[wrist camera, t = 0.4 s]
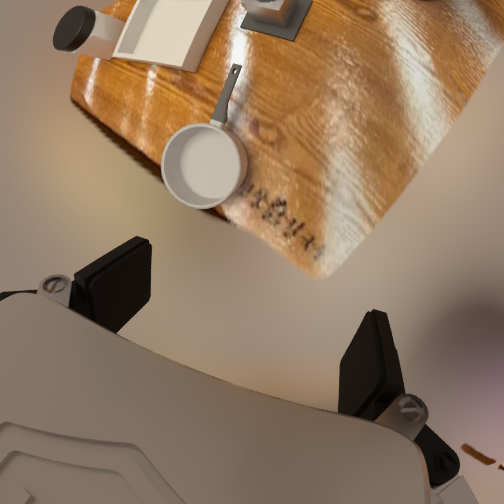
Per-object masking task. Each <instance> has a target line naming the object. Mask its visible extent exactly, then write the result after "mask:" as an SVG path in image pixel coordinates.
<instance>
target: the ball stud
mask: <svg viewBox="0 0 504 504" xmlns="http://www.w3.org/2000/svg"><path fill="white" fill-rule="evenodd" d="M298 4H299V5H298V7H297V9H296V11H295V13H294V15H293V17H292V19H291V21H290V23H289V25H288V27H287V29H284V28H280V27H277V26H273V25H269V24H265V23H261V22H256V21H253V20H252V18H251V17H250V15H249V14H248V12H247V14H246V16H245V18H244V20H243V22H242V24H241V26H240V27H241V28H243V29H248V30H252V31H256V32H260V33H264V34H268V35H272V36H275V37H279V38H282V39H286V40H289V41H292V42H294V39H295V37H296V35H297V33H298V31H299V29H300V27H301V25H302V22H303V20H304V18H305V16H306V14H307V12H308V10H309V8H310V6H311V4H312V0H298Z"/></svg>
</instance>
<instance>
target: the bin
mask: <svg viewBox="0 0 504 504" xmlns="http://www.w3.org/2000/svg"><path fill="white" fill-rule="evenodd" d="M228 2H229V0H137V2H136V4H135V6H134V8H133V10H132V12H131V14H130V16H129V18H128V20H127V22H126V24H125V27H124V29H123V31H122V33H121V36H120V38H119V41H118V43H117V46H116V48H115V51H114V53H113V56H112V57H116V58H120V59H123V60H127V61H133V62H140V63H147V64H153V65H159V66H164V67H170V68H175V69H180V70H184V71H189V72H193V73H196V70H197V68H198V66H199V63H200V61H201V58H202V56H203V54H204V51H205V49H206V47H207V45H208V43H209V40H210V38H211V36H212V34H213V32H214V30H215V28H216V25H217V23H218V21H219V19H220V17H221V15H222V13H223V11H224V9H225V7H226V6H227V4H228Z"/></svg>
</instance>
